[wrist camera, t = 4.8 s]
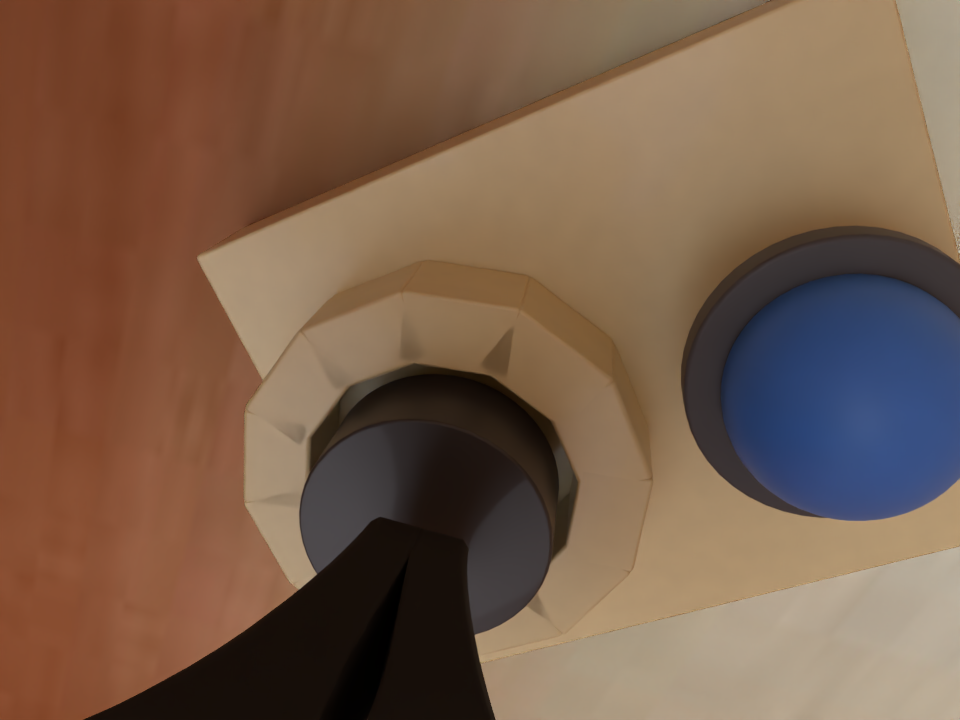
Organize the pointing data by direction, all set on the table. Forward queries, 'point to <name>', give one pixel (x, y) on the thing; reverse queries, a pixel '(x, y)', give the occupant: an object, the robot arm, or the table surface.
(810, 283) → the blue light
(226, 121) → the table surface
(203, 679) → the robot arm
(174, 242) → the table surface
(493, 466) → the button
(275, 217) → the switch box
